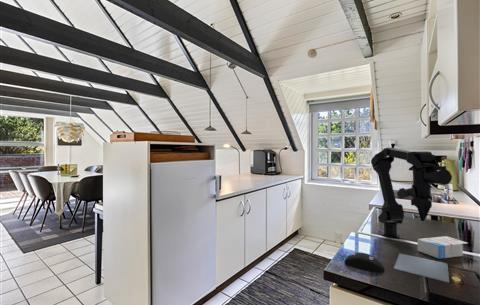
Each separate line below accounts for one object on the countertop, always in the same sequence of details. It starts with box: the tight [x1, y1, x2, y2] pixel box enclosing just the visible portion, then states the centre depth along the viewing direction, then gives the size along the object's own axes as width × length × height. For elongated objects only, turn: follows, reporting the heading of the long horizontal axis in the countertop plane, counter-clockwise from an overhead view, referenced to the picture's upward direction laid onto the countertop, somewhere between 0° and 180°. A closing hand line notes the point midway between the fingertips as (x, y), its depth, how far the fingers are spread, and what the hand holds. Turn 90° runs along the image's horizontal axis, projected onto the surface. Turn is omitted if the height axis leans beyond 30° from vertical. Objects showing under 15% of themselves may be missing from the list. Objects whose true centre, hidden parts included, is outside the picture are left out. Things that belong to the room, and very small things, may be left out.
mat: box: [393, 253, 450, 283], centre depth 81 cm, size 16×14×1 cm
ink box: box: [417, 235, 469, 260], centre depth 92 cm, size 8×5×15 cm
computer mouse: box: [344, 252, 385, 274], centre depth 81 cm, size 8×12×4 cm, turn 50°
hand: (422, 220), depth 95 cm, fingers closed
